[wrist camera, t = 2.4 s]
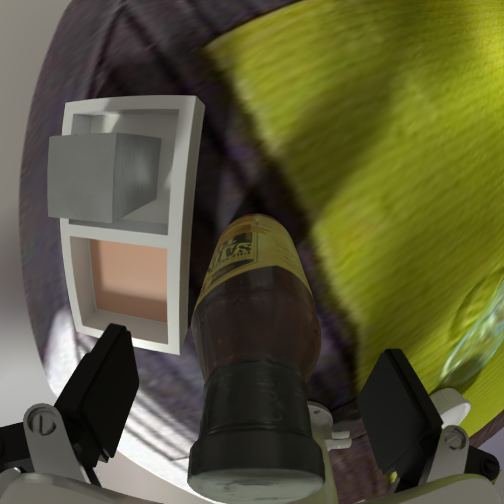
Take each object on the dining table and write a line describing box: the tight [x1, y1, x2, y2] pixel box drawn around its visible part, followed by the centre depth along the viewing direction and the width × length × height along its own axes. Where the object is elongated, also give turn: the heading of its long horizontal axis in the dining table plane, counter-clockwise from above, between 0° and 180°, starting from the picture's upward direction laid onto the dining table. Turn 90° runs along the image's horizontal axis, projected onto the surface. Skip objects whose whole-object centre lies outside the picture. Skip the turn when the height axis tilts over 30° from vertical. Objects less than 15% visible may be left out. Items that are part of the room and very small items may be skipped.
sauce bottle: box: [187, 213, 326, 504], centre depth 15 cm, size 7×6×20 cm
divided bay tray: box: [60, 95, 205, 355], centre depth 21 cm, size 21×11×4 cm, turn 172°
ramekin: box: [429, 388, 471, 429], centre depth 31 cm, size 11×11×5 cm
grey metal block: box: [48, 132, 162, 223], centre depth 17 cm, size 5×5×8 cm
